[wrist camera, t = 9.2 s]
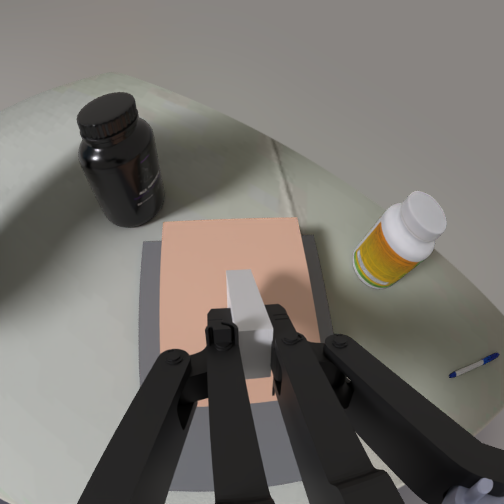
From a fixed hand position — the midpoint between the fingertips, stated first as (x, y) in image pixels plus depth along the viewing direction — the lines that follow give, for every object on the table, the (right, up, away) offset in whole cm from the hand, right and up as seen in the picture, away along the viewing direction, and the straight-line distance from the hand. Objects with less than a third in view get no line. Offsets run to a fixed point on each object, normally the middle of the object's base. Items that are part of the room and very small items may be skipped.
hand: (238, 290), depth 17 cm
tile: (0, -8, 0) cm, 8 cm away
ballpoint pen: (+27, -11, +5) cm, 29 cm away
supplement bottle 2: (+13, +1, +9) cm, 16 cm away
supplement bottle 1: (-11, +7, +10) cm, 17 cm away
